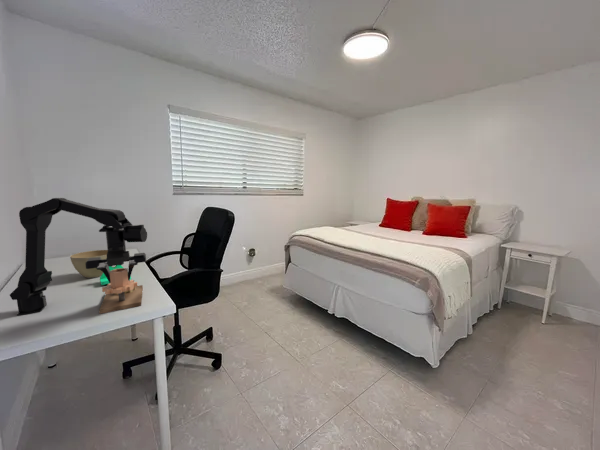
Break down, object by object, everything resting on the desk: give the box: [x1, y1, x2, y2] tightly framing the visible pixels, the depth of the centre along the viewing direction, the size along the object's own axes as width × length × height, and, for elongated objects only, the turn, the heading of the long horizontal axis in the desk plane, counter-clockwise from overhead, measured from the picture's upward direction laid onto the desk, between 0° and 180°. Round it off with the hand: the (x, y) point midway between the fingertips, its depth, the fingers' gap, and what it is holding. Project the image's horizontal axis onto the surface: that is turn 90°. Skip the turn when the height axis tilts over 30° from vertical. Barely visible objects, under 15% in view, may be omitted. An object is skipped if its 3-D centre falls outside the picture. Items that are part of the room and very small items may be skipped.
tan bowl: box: [69, 249, 108, 279], centre depth 134 cm, size 18×18×12 cm
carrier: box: [98, 284, 144, 315], centre depth 104 cm, size 13×21×6 cm, turn 31°
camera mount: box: [99, 265, 132, 286], centre depth 124 cm, size 12×8×10 cm, turn 132°
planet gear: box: [101, 267, 138, 295], centre depth 98 cm, size 11×11×8 cm
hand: (119, 281), depth 99 cm, fingers closed on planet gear, 6 cm apart
